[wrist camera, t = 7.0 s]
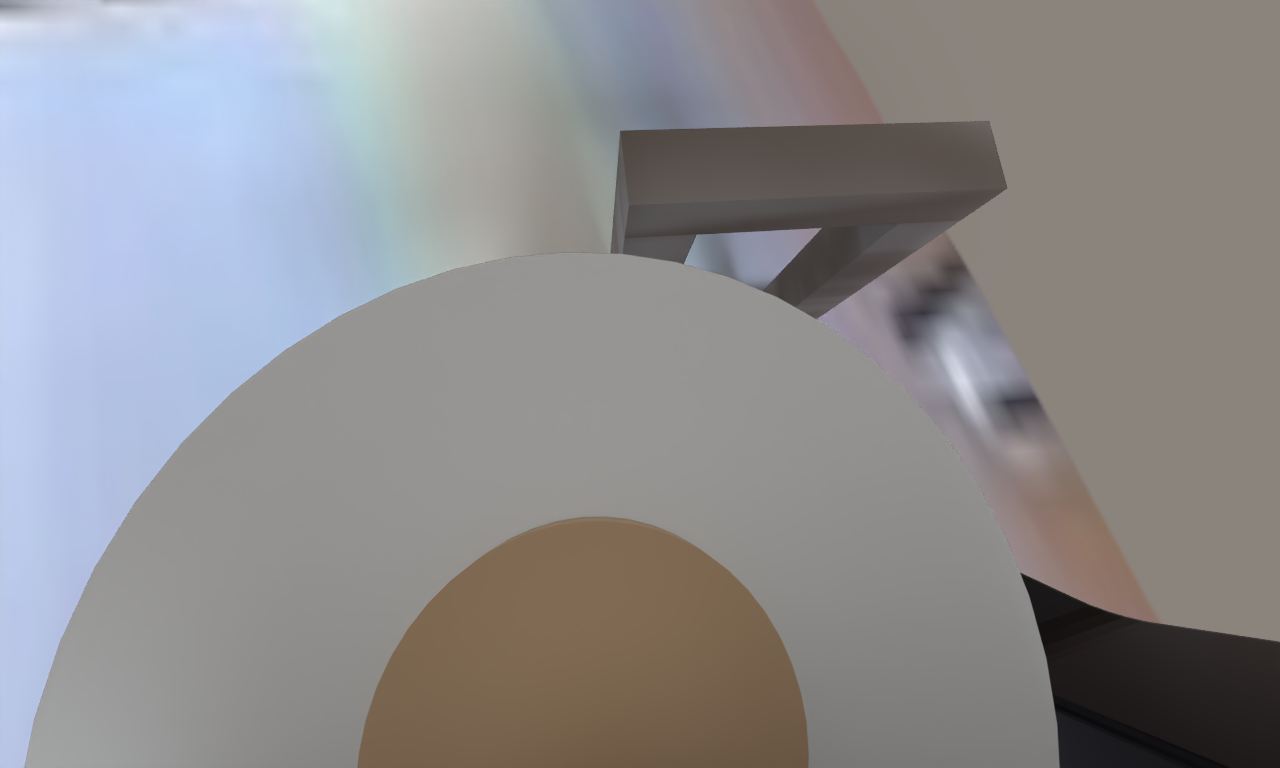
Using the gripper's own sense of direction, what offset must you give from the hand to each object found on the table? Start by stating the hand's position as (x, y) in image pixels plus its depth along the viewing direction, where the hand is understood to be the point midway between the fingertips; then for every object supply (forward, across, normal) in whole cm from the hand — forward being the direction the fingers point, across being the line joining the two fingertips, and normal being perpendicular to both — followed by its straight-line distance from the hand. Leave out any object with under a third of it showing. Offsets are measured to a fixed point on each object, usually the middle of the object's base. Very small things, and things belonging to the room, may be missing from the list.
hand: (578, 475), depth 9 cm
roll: (+4, 0, +6) cm, 7 cm away
